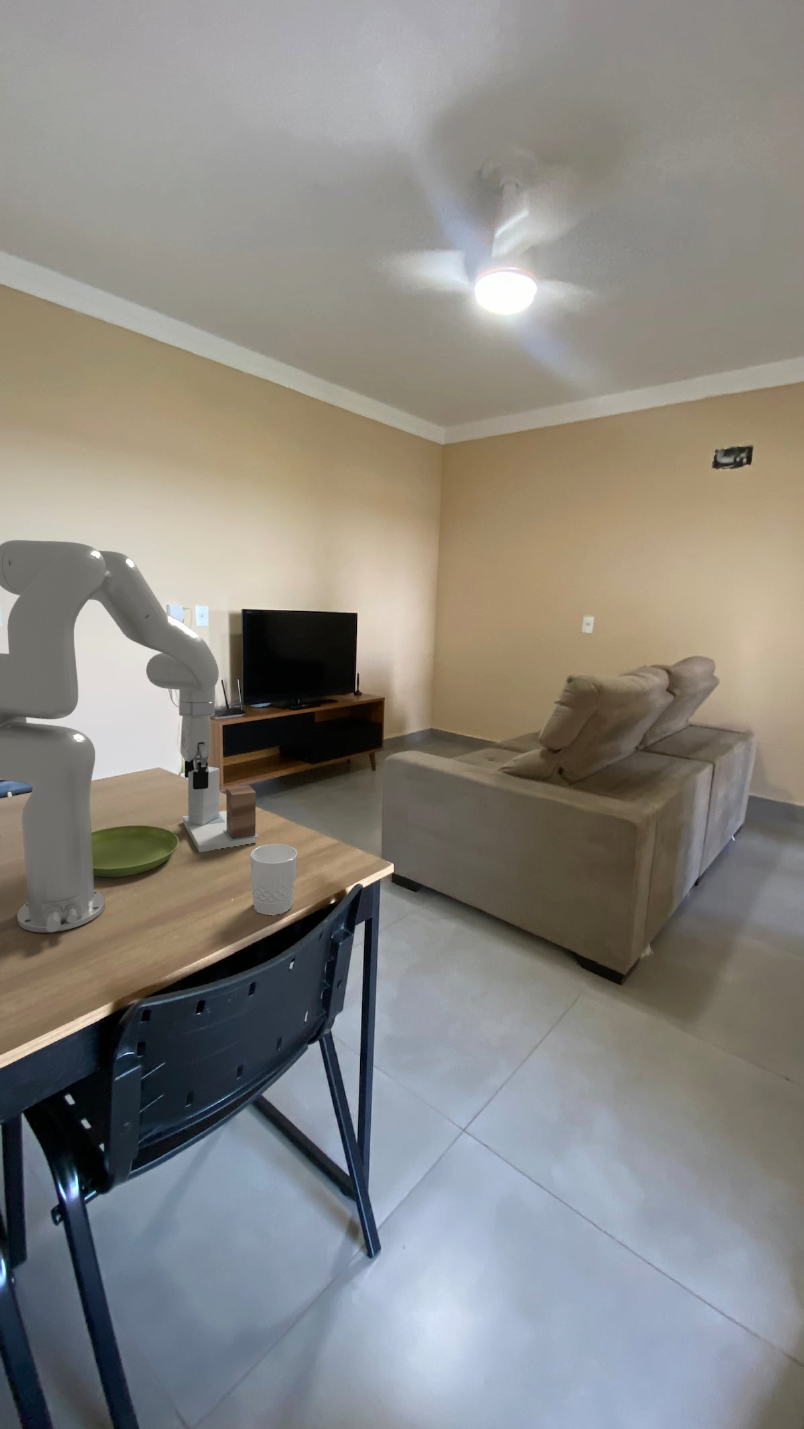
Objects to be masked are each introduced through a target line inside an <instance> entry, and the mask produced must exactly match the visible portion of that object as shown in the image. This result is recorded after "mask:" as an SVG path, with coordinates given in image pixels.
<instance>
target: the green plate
mask: <svg viewBox="0 0 804 1429" xmlns="http://www.w3.org/2000/svg"><path fill="white" fill-rule="evenodd" d="M91 832H92V854H93V876H96V877H102V878H119V877H121V878H122V877H128V876H129V877H130V876H133V875H138V874H142V873H145V872H147V871H150V870H153V869H155V868H157V867H159V866H160V865H162V864H163V863H164V862H166V861H167V860H168V859H169V858H170V857H171V856H172V855H173V854H174V852H175V851H176V849H177V848H178V846H179V844H180V843H179V842H180V840H179V837H178V835H176V834H175V833H174V832H173V831H171V830H168V829H166V828H163V827H158V826H153V825H152V826H151V825H120V826H114V827H107V828H103V829H102V828H101V829H99V830H98V829H97V830H96V831H91Z"/></svg>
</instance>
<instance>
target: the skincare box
mask: <svg viewBox="0 0 804 1429" xmlns="http://www.w3.org/2000/svg"><path fill="white" fill-rule="evenodd" d="M194 771H195V770H194ZM208 771H209V773H208V788H207V789H196V790H194V789H193V771H191V772H188V778H187V779H188V780H187V782H188V786H187V787H188V788H187V791H188V797H187V798H188V799H187V800H188V801H187V802H188V806H187V808H188V812H187V813H188V815H187V816H188V821H189V822H191V823H194V824H199V825H204V824H206V823H208V822H210V821H212V820H214V819H216V818H218V817H219V812H220V768H218V767H215V766H214V767H212V766H208Z"/></svg>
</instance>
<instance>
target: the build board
mask: <svg viewBox="0 0 804 1429" xmlns="http://www.w3.org/2000/svg"><path fill="white" fill-rule="evenodd" d="M182 823H183V825H184V827H185V829H186V832H187V833H188V835H189V836H190V838H191V840H192V842H193V843H194V846H195V847H196V849H197V851H198V853H205V852H211V850H212V851H215V850H214V849H218V850H222V849H221V848H224V849H226V848H225V847H230V848H233V847H232V846H236V845H243V844H248V843H255V842H256V843H257V838H260V836H261V835H259V834H258V833H257V830H255V836H250V837H244V838H237V839H232V838H231V836H230V835H229V834H228V832H227V810H221V811H220V810H219V817H218V818H216V819H214V820H212V821H210V822H208V823H206V824H204V825H199V824H194V823H191V822H189V821H188V815H183V816H182ZM256 843H255V844H256ZM243 846H244V845H243Z"/></svg>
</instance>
